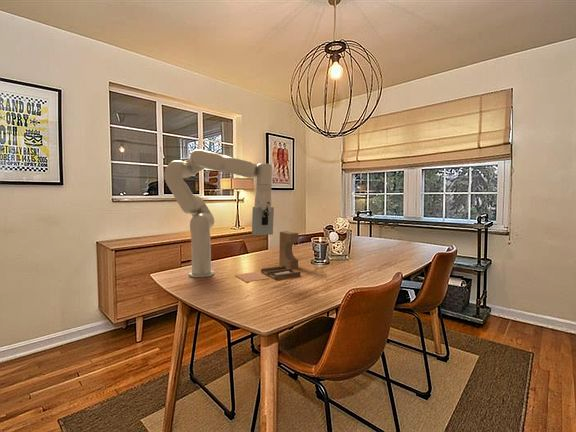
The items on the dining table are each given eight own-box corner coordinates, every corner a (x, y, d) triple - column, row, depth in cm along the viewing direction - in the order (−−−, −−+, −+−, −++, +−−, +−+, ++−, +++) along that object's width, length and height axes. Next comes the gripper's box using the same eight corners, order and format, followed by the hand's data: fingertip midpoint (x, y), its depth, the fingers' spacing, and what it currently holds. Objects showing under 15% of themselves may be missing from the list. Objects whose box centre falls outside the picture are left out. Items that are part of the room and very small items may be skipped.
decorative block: (298, 268, 180) (299, 233, 178) (290, 269, 177) (291, 233, 175) (286, 264, 189) (287, 230, 187) (278, 265, 185) (279, 231, 184)
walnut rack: (261, 273, 168) (261, 268, 168) (284, 270, 175) (284, 265, 175) (275, 280, 155) (275, 275, 154) (300, 276, 162) (300, 271, 162)
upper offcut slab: (273, 275, 162) (273, 273, 161) (288, 273, 166) (288, 271, 166) (278, 278, 157) (278, 275, 157) (293, 275, 162) (293, 273, 162)
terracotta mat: (235, 275, 162) (235, 274, 162) (256, 272, 169) (256, 271, 169) (246, 282, 151) (246, 281, 150) (268, 279, 157) (268, 278, 157)
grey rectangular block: (251, 234, 161) (252, 206, 160) (269, 233, 167) (269, 206, 166) (255, 235, 158) (256, 207, 157) (272, 234, 163) (273, 207, 162)
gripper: (249, 187, 165) (248, 222, 167) (265, 188, 151) (264, 226, 153) (262, 188, 170) (261, 222, 171) (278, 188, 156) (277, 226, 157)
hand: (262, 224), depth 162 cm, fingers closed on grey rectangular block, 4 cm apart
